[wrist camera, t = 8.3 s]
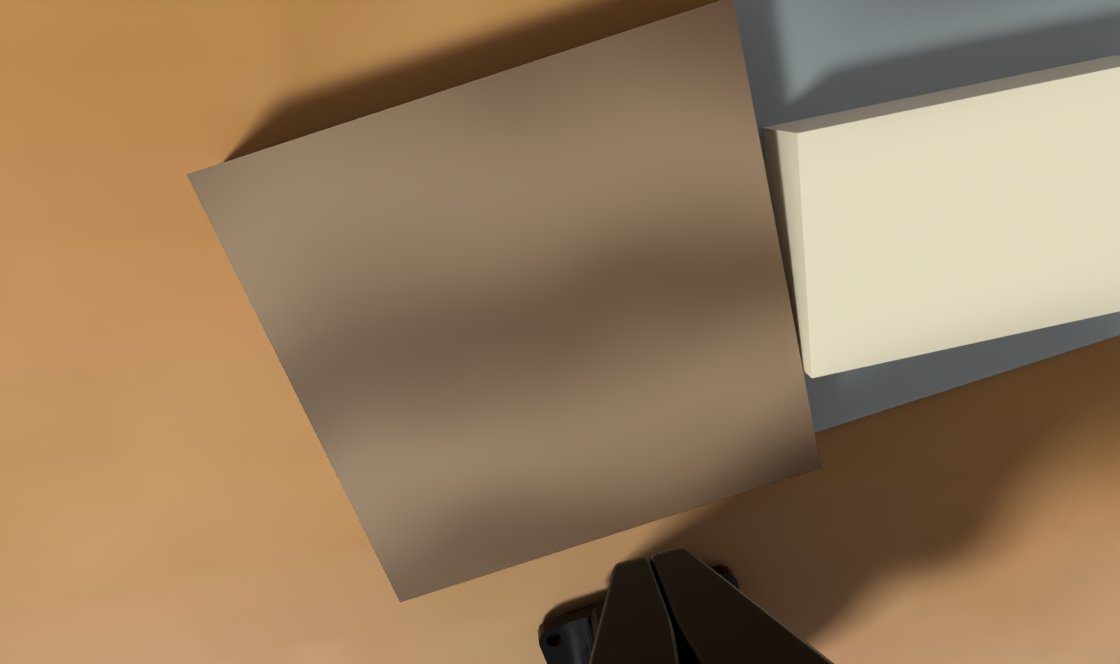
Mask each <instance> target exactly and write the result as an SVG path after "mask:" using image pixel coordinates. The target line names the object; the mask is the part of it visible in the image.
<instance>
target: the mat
mask: <svg viewBox="0 0 1120 664" xmlns="http://www.w3.org/2000/svg"><path fill="white" fill-rule="evenodd" d="M733 1H734V6H735V11H736V17H737V22H738V27H739V33H740V38H741V43H742V49H743V54H744V59H745V65H746V70H747V75H748V81H749V86H750V91H751V96H752V102H753V107H754V112H755V118H756V123H757V128H758V134H759V139H760V144H761V150H762V155H763V160H764V166H765V153H764V140H763V127H768V126H773V125H778V124H783V123H787V122H792V121H797V120H802V119H807V118H812V117H817V116H821V115H826V114H831V113H836V112H841V111H846V110H851V109H855V108H860V107H865V106H870V105H875V104H880V103H885V102H889V101H894V100H899V99H904V98H909V97H914V96H919V95H924V94H928V93H933V92H938V91H943V90H948V89H953V88H958V87H962V86H967V85H972V84H977V83H982V82H987V81H992V80H996V79H1001V78H1006V77H1011V76H1016V75H1021V74H1026V73H1030V72H1035V71H1040V70H1045V69H1050V68H1055V67H1060V66H1064V65H1069V64H1074V63H1079V62H1084V61H1089V60H1094V59H1099V58H1103V57H1108V56H1119V55H1120V0H733ZM765 171H766V166H765ZM1119 335H1120V311H1119V312H1114V313H1110V314H1105V315H1101V316H1096V317H1091V318H1087V319H1082V320H1078V321H1073V322H1068V323H1064V324H1059V325H1055V326H1050V327H1045V328H1041V329H1036V330H1032V331H1027V332H1022V333H1018V334H1013V335H1009V336H1004V337H999V338H995V339H990V340H986V341H981V342H977V343H972V344H967V345H963V346H958V347H954V348H949V349H944V350H940V351H935V352H931V353H926V354H921V355H917V356H912V357H908V358H903V359H898V360H894V361H889V362H885V363H880V364H875V365H871V366H866V367H862V368H857V369H852V370H848V371H843V372H839V373H834V374H829V375H825V376H820V377H816V378H811V377H810V376H809V375H808V374H806V373H805V372H804V371H803V373H804V378H805V384H806V389H807V394H808V400H809V405H810V410H811V416H812V421H813V426H814V432H815V433H816V432H819V431H822V430H825V429H828V428H831V427H835V426H838V425H841V424H844V423H847V422H850V421H853V420H856V419H859V418H863V417H866V416H869V415H872V414H875V413H878V412H881V411H884V410H888V409H891V408H894V407H897V406H900V405H903V404H906V403H909V402H913V401H916V400H919V399H922V398H925V397H928V396H931V395H934V394H938V393H941V392H944V391H947V390H950V389H953V388H956V387H959V386H963V385H966V384H969V383H972V382H975V381H978V380H981V379H984V378H988V377H991V376H994V375H997V374H1000V373H1003V372H1006V371H1009V370H1012V369H1016V368H1019V367H1022V366H1025V365H1028V364H1031V363H1034V362H1037V361H1041V360H1044V359H1047V358H1050V357H1053V356H1056V355H1059V354H1062V353H1066V352H1069V351H1072V350H1075V349H1078V348H1081V347H1084V346H1087V345H1091V344H1094V343H1097V342H1100V341H1103V340H1106V339H1109V338H1112V337H1116V336H1119Z"/></svg>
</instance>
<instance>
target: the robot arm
mask: <svg viewBox="0 0 1120 664" xmlns="http://www.w3.org/2000/svg"><path fill="white" fill-rule="evenodd" d="M552 634H558V636H556V637H550V635H552ZM538 637H539V645H540V648H541V650H542V652H543V655H544V657H545V660H546V662H547V664H834V663H832V662H831V661H830V660H829V659H827V658H826V657H825V656H823V655H822V654H821V653H820V652H818V651H817V650H816V649H814V648H813V647H812V646H811V645H809V644H808V643H807V642H805V641H804V640H803V639H802V638H800V637H799V636H798V635H796V634H795V633H794V632H793V631H791V630H790V629H789V628H787V627H786V626H785V625H784V624H782V623H781V622H780V621H778V620H777V619H776V618H775V617H773V616H772V615H771V614H770V613H768V612H767V611H766V610H764V609H763V608H762V607H761V606H759V605H758V604H757V603H755V602H754V601H753V600H752V599H750V598H749V597H748V596H746V595H745V594H744V593H743V592H741V591H740V590H739V586H738V582H737V580H736V578H735V576H734V574H733V572H732V570H731V569H730V568H728V567H727V566H722V565H720V566H714V567H709V566H708V565H707V564H705V563H704V562H703V561H702V560H700V559H699V558H698V557H696V556H695V555H694V554H693V553H691V552H690V551H689V550H687V549H686V548H683V547H677V548H673V549H670V550H666V551H662V552H658V553H655V554H653V555H652V556H651V562H650V560H649V559H648V558H647V557H639V558H636V559H632V560H628V561H624V562H621V563H618V564H616V565H615V567H614V569H613V572H612V576H611V580H610V584H609V588H608V592H607V596H606V599H605V601H604V602H601V603H598V604H595V605H592V606H589V607H586V608H582V609H579V610H576V611H573V612H570V613H567V614H564V615H560V616H557V617H554V618H551V619H548V620H546V621H544V622H543V623H542V624H541V625H540V626H539V629H538Z"/></svg>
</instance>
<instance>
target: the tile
mask: <svg viewBox="0 0 1120 664" xmlns="http://www.w3.org/2000/svg"><path fill="white" fill-rule="evenodd" d="M763 140H764V153H765V166H766V176H767V182H768V187H769V192H770V198H771V203H772V208H773V213H774V219H775V224H776V229H777V235H778V240H779V245H780V251H781V256H782V261H783V267H784V272H785V277H786V283H787V288H788V293H789V299H790V304H791V309H792V315H793V320H794V325H795V331H796V336H797V341H798V346H799V352H800V357H801V362H802V368H803V371H804V372H805V373H806V374H808V375H809V376H810V377H811V378H816V377H820V376H825V375H829V374H834V373H839V372H843V371H848V370H852V369H857V368H862V367H866V366H871V365H875V364H880V363H885V362H889V361H894V360H898V359H903V358H908V357H912V356H917V355H921V354H926V353H931V352H935V351H940V350H944V349H949V348H954V347H958V346H963V345H967V344H972V343H977V342H981V341H986V340H990V339H995V338H999V337H1004V336H1009V335H1013V334H1018V333H1022V332H1027V331H1032V330H1036V329H1041V328H1045V327H1050V326H1055V325H1059V324H1064V323H1068V322H1073V321H1078V320H1082V319H1087V318H1091V317H1096V316H1101V315H1105V314H1110V313H1114V312H1119V311H1120V55H1119V56H1108V57H1103V58H1099V59H1094V60H1089V61H1084V62H1079V63H1074V64H1069V65H1064V66H1060V67H1055V68H1050V69H1045V70H1040V71H1035V72H1030V73H1026V74H1021V75H1016V76H1011V77H1006V78H1001V79H996V80H992V81H987V82H982V83H977V84H972V85H967V86H962V87H958V88H953V89H948V90H943V91H938V92H933V93H928V94H924V95H919V96H914V97H909V98H904V99H899V100H894V101H889V102H885V103H880V104H875V105H870V106H865V107H860V108H855V109H851V110H846V111H841V112H836V113H831V114H826V115H821V116H817V117H812V118H807V119H802V120H797V121H792V122H787V123H783V124H778V125H773V126H768V127H763Z"/></svg>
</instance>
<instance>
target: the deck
mask: <svg viewBox="0 0 1120 664" xmlns="http://www.w3.org/2000/svg"><path fill="white" fill-rule="evenodd" d="M187 176H188V178H189V180H190V182H191V184H192V186H193V188H194V190H195V192H196V194H197V196H198V198H199V200H200V202H201V204H202V206H203V208H204V210H205V212H206V214H207V216H208V218H209V220H210V222H211V224H212V226H213V228H214V230H215V232H216V234H217V236H218V238H219V240H220V242H221V244H222V246H223V248H224V250H225V252H226V254H227V256H228V258H229V260H230V262H231V264H232V266H233V268H234V270H235V272H236V274H237V276H238V278H239V280H240V282H241V284H242V286H243V288H244V290H245V292H246V294H247V296H248V298H249V300H250V302H251V304H252V306H253V308H254V310H255V312H256V314H257V316H258V318H259V320H260V322H261V324H262V326H263V328H264V330H265V332H266V334H267V336H268V338H269V340H270V342H271V344H272V346H273V348H274V350H275V352H276V354H277V356H278V358H279V360H280V362H281V364H282V366H283V368H284V370H285V372H286V374H287V376H288V378H289V380H290V382H291V384H292V386H293V388H294V390H295V392H296V394H297V396H298V398H299V400H300V402H301V404H302V406H303V408H304V410H305V412H306V414H307V416H308V418H309V420H310V422H311V424H312V426H313V428H314V431H315V433H316V435H317V437H318V439H319V441H320V443H321V445H322V447H323V449H324V451H325V453H326V455H327V457H328V459H329V461H330V463H331V465H332V467H333V469H334V471H335V473H336V475H337V477H338V479H339V481H340V483H341V485H342V487H343V489H344V491H345V493H346V495H347V497H348V499H349V501H350V503H351V505H352V507H353V509H354V511H355V513H356V515H357V517H358V519H359V521H360V523H361V525H362V527H363V529H364V531H365V533H366V535H367V537H368V539H369V541H370V543H371V545H372V547H373V549H374V551H375V553H376V555H377V557H378V559H379V561H380V563H381V565H382V567H383V569H384V571H385V573H386V575H387V577H388V579H389V581H390V583H391V585H392V587H393V589H394V591H395V593H396V595H397V597H398V599H399V601H400V602H403V601H406V600H409V599H412V598H415V597H418V596H421V595H424V594H428V593H431V592H434V591H437V590H440V589H443V588H446V587H449V586H453V585H456V584H459V583H462V582H465V581H468V580H471V579H474V578H478V577H481V576H484V575H487V574H490V573H493V572H496V571H500V570H503V569H506V568H509V567H512V566H515V565H518V564H521V563H525V562H528V561H531V560H534V559H537V558H540V557H543V556H546V555H550V554H553V553H556V552H559V551H562V550H565V549H568V548H571V547H575V546H578V545H581V544H584V543H587V542H590V541H593V540H596V539H600V538H603V537H606V536H609V535H612V534H615V533H618V532H621V531H625V530H628V529H631V528H634V527H637V526H640V525H643V524H646V523H650V522H653V521H656V520H659V519H662V518H665V517H668V516H671V515H675V514H678V513H681V512H684V511H687V510H690V509H693V508H697V507H700V506H703V505H706V504H709V503H712V502H715V501H718V500H722V499H725V498H728V497H731V496H734V495H737V494H740V493H743V492H747V491H750V490H753V489H756V488H759V487H762V486H765V485H768V484H772V483H775V482H778V481H781V480H784V479H787V478H790V477H793V476H797V475H800V474H803V473H806V472H809V471H812V470H815V469H818V468H821V463H820V458H819V453H818V448H817V442H816V437H815V432H814V426H813V421H812V416H811V410H810V405H809V400H808V394H807V389H806V384H805V378H804V373H803V368H802V362H801V357H800V352H799V346H798V341H797V336H796V331H795V325H794V320H793V315H792V309H791V304H790V299H789V293H788V288H787V283H786V277H785V272H784V267H783V261H782V256H781V251H780V245H779V240H778V235H777V229H776V224H775V219H774V213H773V208H772V203H771V198H770V192H769V187H768V182H767V176H766V171H765V166H764V160H763V155H762V150H761V144H760V139H759V134H758V128H757V123H756V118H755V112H754V107H753V102H752V96H751V91H750V86H749V81H748V75H747V70H746V65H745V59H744V54H743V49H742V43H741V38H740V33H739V27H738V22H737V17H736V11H735V6H734V1H733V0H720V1H717V2H714V3H710V4H707V5H704V6H701V7H698V8H695V9H692V10H689V11H686V12H683V13H680V14H677V15H674V16H671V17H668V18H665V19H661V20H658V21H655V22H652V23H649V24H646V25H643V26H640V27H637V28H634V29H631V30H628V31H625V32H622V33H619V34H616V35H612V36H609V37H606V38H603V39H600V40H597V41H594V42H591V43H588V44H585V45H582V46H579V47H576V48H573V49H570V50H567V51H563V52H560V53H557V54H554V55H551V56H548V57H545V58H542V59H539V60H536V61H533V62H530V63H527V64H524V65H521V66H518V67H514V68H511V69H508V70H505V71H502V72H499V73H496V74H493V75H490V76H487V77H484V78H481V79H478V80H475V81H472V82H469V83H465V84H462V85H459V86H456V87H453V88H450V89H447V90H444V91H441V92H438V93H435V94H432V95H429V96H426V97H423V98H420V99H416V100H413V101H410V102H407V103H404V104H401V105H398V106H395V107H392V108H389V109H386V110H383V111H380V112H377V113H374V114H370V115H367V116H364V117H361V118H358V119H355V120H352V121H349V122H346V123H343V124H340V125H337V126H334V127H331V128H328V129H325V130H321V131H318V132H315V133H312V134H309V135H306V136H303V137H300V138H297V139H294V140H291V141H288V142H285V143H282V144H279V145H276V146H272V147H269V148H266V149H263V150H260V151H257V152H254V153H251V154H248V155H245V156H242V157H239V158H236V159H233V160H230V161H227V162H223V163H220V164H217V165H214V166H211V167H208V168H205V169H202V170H199V171H196V172H193V173H190V174H187Z"/></svg>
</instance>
